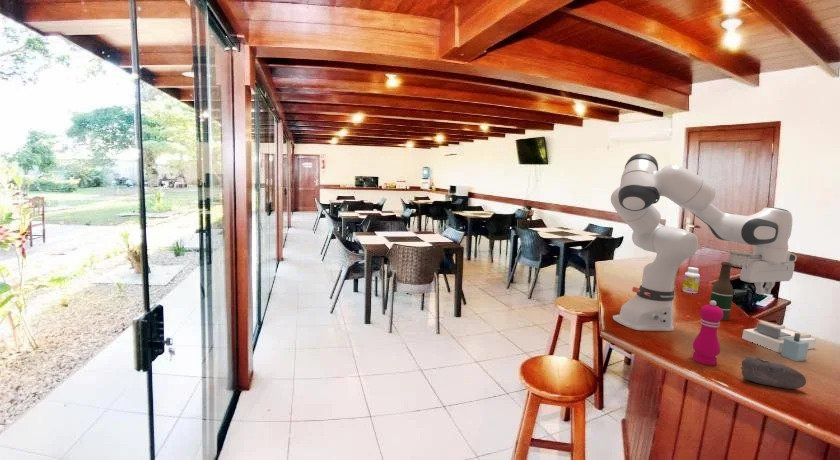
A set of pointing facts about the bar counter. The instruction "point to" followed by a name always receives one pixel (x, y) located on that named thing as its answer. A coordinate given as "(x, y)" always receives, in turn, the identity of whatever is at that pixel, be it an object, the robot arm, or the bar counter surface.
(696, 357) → the pepper mill
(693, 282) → the supplement bottle
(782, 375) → the perforated stone tool
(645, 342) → the bar counter surface
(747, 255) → the planter
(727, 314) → the beer bottle
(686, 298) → the bar counter surface
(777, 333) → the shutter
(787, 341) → the plug
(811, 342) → the socket board
